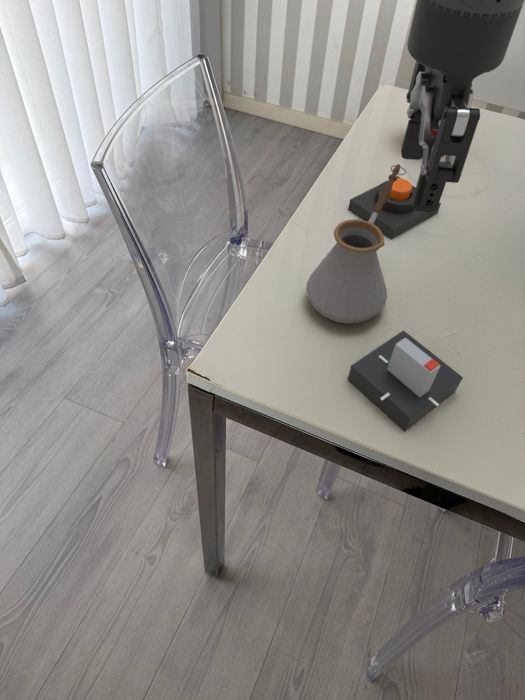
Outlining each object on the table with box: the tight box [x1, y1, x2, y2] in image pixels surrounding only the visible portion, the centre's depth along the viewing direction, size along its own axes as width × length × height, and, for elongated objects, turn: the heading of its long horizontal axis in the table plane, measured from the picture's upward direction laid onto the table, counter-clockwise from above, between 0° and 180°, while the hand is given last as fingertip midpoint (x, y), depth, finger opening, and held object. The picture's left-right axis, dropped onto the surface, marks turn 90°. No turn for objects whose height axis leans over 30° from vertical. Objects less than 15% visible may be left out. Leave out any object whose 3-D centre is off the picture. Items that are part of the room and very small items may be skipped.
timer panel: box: [347, 329, 463, 432], centre depth 72 cm, size 11×11×3 cm
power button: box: [388, 177, 413, 201], centre depth 94 cm, size 4×4×2 cm
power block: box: [347, 175, 442, 240], centre depth 96 cm, size 12×10×4 cm
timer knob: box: [387, 338, 440, 397], centre depth 69 cm, size 6×2×5 cm, turn 39°
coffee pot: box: [306, 163, 407, 324], centre depth 80 cm, size 21×12×15 cm, turn 153°
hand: (416, 181), depth 54 cm, fingers open, 8 cm apart
